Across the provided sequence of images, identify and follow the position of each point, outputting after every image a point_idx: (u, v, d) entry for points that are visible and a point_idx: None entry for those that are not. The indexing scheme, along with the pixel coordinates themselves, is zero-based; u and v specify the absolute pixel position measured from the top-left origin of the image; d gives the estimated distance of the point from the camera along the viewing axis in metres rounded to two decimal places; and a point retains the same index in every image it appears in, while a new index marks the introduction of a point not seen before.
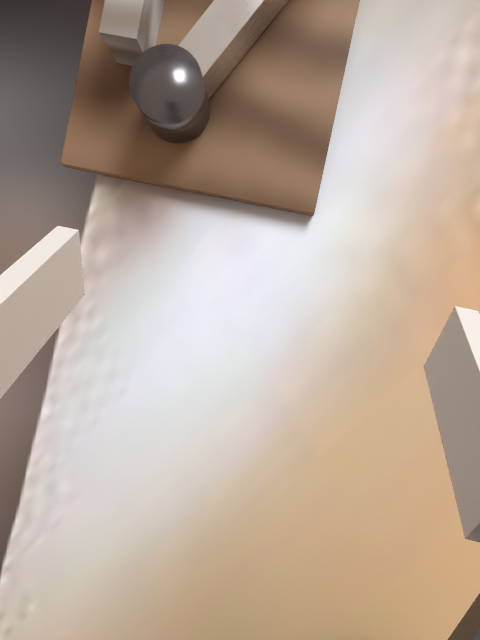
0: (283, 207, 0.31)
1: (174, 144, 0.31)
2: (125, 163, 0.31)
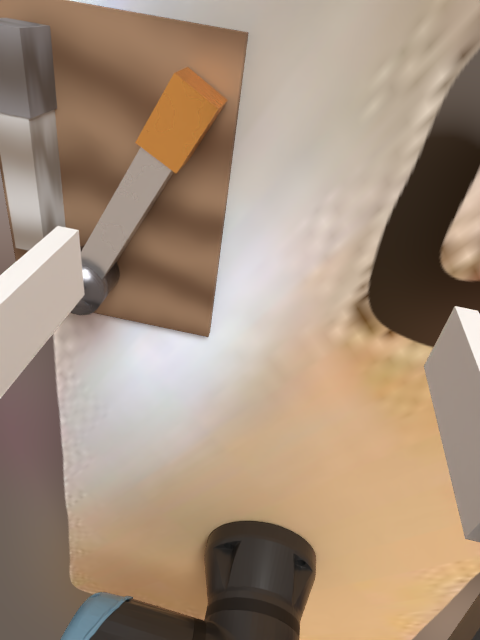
0: (186, 331, 0.42)
1: None
2: None
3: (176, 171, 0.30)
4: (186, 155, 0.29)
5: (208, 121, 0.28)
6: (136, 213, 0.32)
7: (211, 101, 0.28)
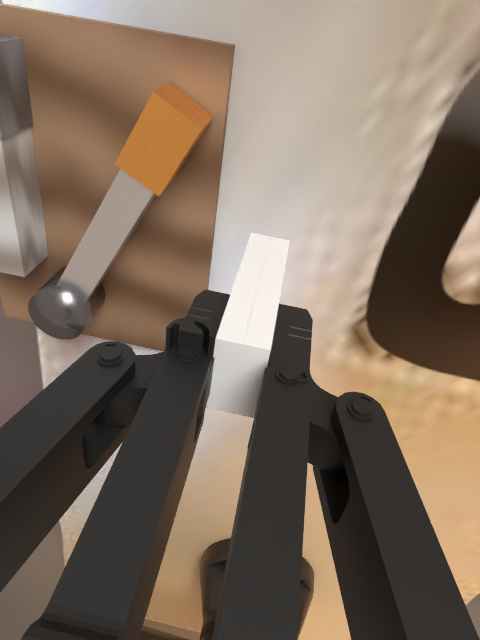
0: None
1: None
2: None
3: (159, 194, 0.28)
4: (169, 177, 0.27)
5: (191, 142, 0.26)
6: (118, 236, 0.30)
7: (194, 121, 0.25)
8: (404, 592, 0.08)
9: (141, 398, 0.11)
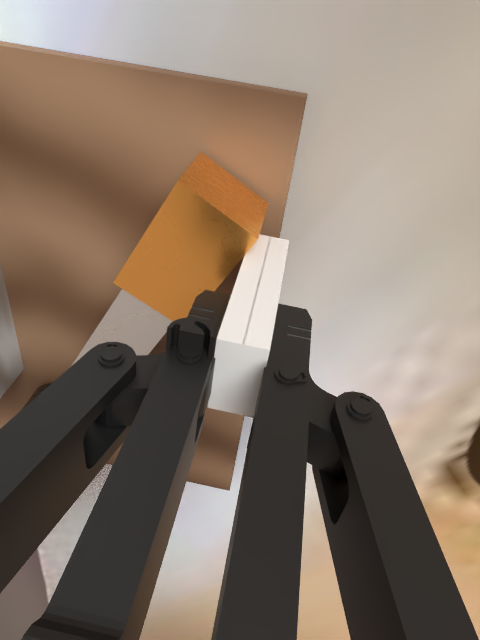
0: None
1: None
2: None
3: None
4: None
5: (239, 257, 0.16)
6: None
7: (245, 224, 0.15)
8: (403, 592, 0.08)
9: (142, 398, 0.11)
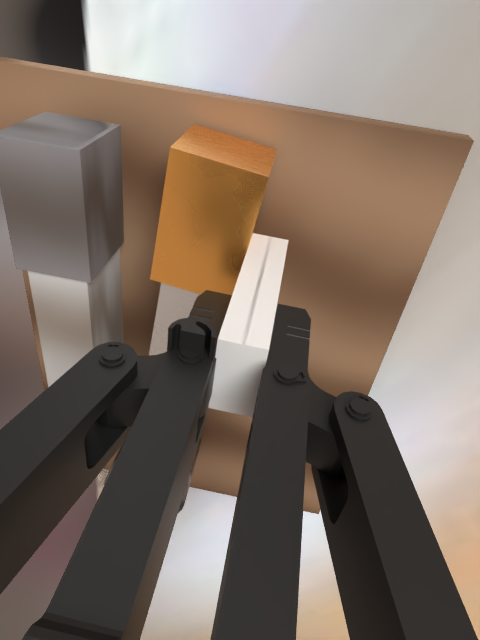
0: None
1: None
2: None
3: None
4: (238, 271, 0.16)
5: (257, 204, 0.15)
6: None
7: (251, 168, 0.14)
8: (402, 592, 0.08)
9: (143, 399, 0.11)
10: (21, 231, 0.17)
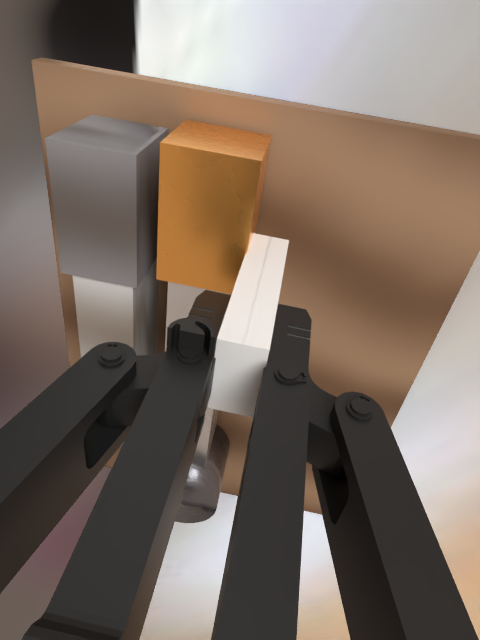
0: (312, 510, 0.30)
1: None
2: None
3: None
4: (242, 261, 0.16)
5: (254, 190, 0.14)
6: None
7: (244, 154, 0.14)
8: (403, 592, 0.08)
9: (142, 398, 0.11)
10: (69, 236, 0.16)
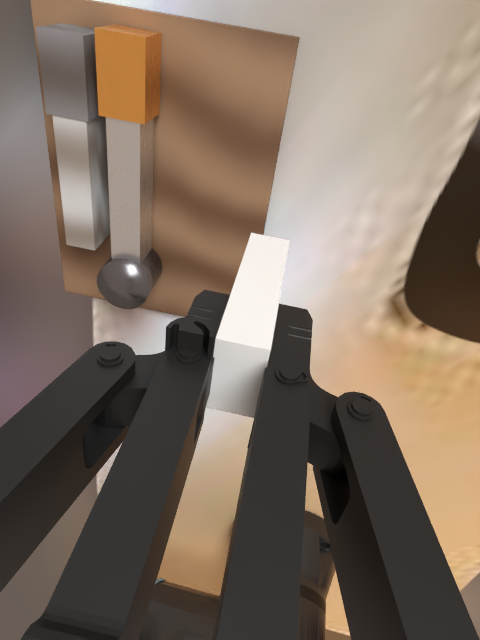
0: None
1: None
2: None
3: (143, 122, 0.30)
4: (143, 100, 0.29)
5: (144, 55, 0.28)
6: (134, 183, 0.33)
7: (138, 34, 0.27)
8: (404, 592, 0.08)
9: (141, 398, 0.11)
10: (50, 88, 0.30)
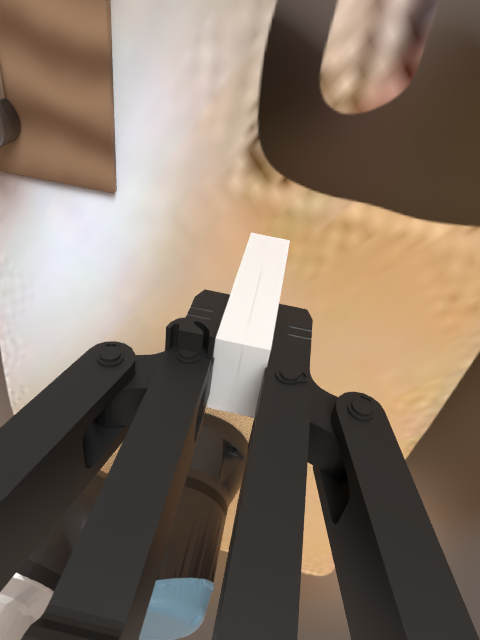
0: (92, 188, 0.43)
1: None
2: None
3: None
4: None
5: None
6: None
7: None
8: (404, 592, 0.08)
9: (141, 398, 0.11)
10: None
